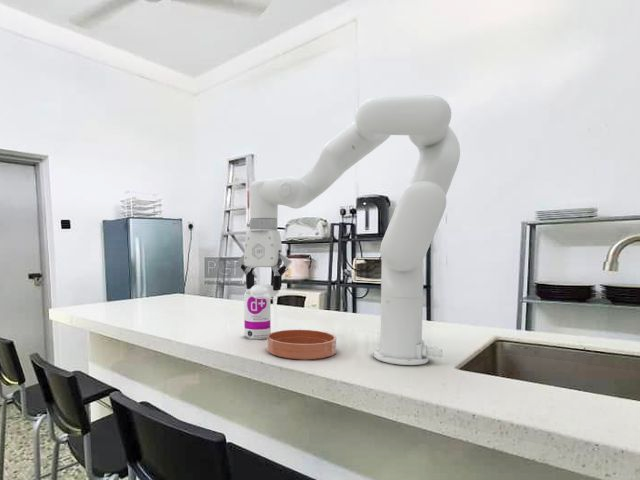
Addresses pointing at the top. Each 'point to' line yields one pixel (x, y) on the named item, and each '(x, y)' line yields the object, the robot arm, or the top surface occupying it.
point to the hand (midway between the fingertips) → (263, 289)
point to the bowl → (301, 344)
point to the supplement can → (256, 316)
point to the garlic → (263, 291)
